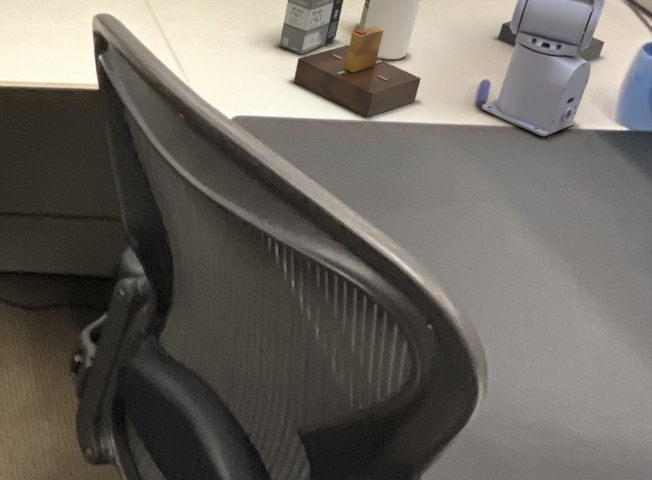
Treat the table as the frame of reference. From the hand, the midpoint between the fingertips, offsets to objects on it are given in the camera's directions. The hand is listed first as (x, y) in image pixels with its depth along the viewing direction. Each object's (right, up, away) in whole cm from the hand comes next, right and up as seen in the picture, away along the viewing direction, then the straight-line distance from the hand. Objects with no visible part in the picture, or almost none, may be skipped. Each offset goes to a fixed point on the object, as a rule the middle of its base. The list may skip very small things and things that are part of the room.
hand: (558, 19), depth 159 cm
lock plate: (-32, -18, -19) cm, 41 cm away
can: (-27, -8, -7) cm, 29 cm away
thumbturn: (-32, -15, -21) cm, 41 cm away
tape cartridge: (-37, -7, -8) cm, 39 cm away
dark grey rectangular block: (-1, -3, +3) cm, 4 cm away
